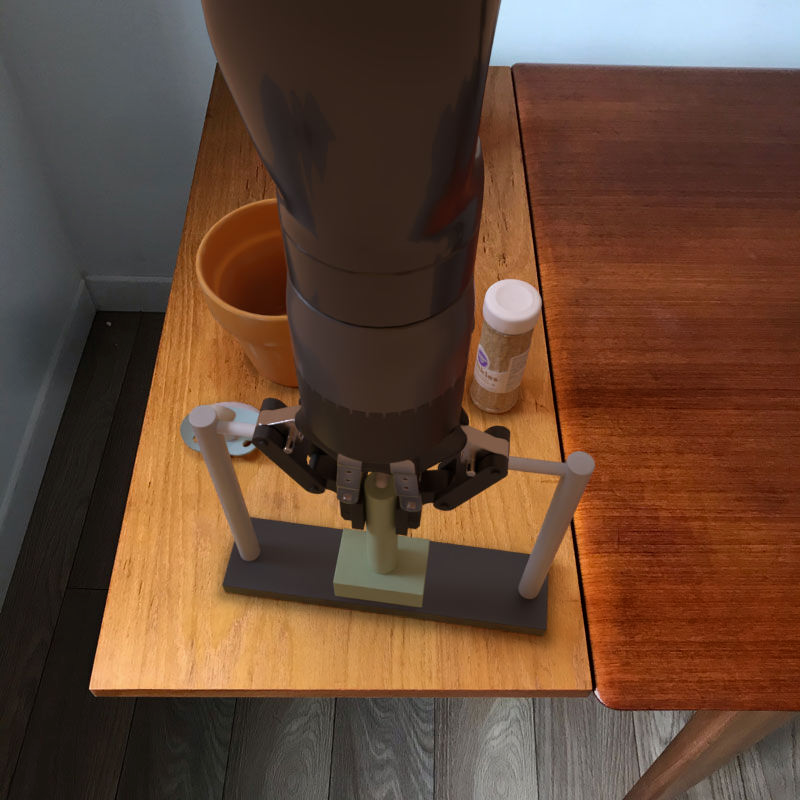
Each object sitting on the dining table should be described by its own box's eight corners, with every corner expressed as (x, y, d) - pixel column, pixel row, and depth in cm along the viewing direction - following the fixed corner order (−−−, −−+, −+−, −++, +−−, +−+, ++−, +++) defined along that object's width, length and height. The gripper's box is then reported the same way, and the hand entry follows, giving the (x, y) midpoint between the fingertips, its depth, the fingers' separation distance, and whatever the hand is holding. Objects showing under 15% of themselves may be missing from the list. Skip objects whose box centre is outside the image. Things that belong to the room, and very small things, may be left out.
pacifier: (196, 403, 71) (180, 458, 68) (182, 360, 66) (164, 417, 63) (275, 409, 71) (263, 464, 67) (267, 366, 66) (254, 423, 62)
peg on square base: (433, 516, 58) (445, 404, 45) (421, 613, 53) (431, 517, 41) (353, 506, 58) (344, 392, 46) (335, 601, 54) (321, 502, 42)
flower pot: (217, 415, 70) (187, 322, 60) (227, 299, 78) (202, 198, 68) (373, 408, 71) (370, 315, 60) (367, 293, 79) (364, 193, 68)
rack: (545, 563, 63) (607, 421, 45) (543, 636, 59) (608, 513, 42) (244, 523, 64) (192, 372, 47) (225, 592, 61) (161, 456, 44)
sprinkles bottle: (459, 392, 72) (473, 293, 61) (495, 368, 74) (514, 268, 63) (493, 424, 70) (513, 328, 59) (528, 398, 72) (555, 301, 61)
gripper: (195, 387, 31) (255, 561, 45) (543, 429, 30) (492, 593, 44) (242, 254, 35) (283, 451, 49) (548, 287, 34) (500, 478, 48)
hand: (382, 518), depth 47 cm, fingers closed on peg on square base
